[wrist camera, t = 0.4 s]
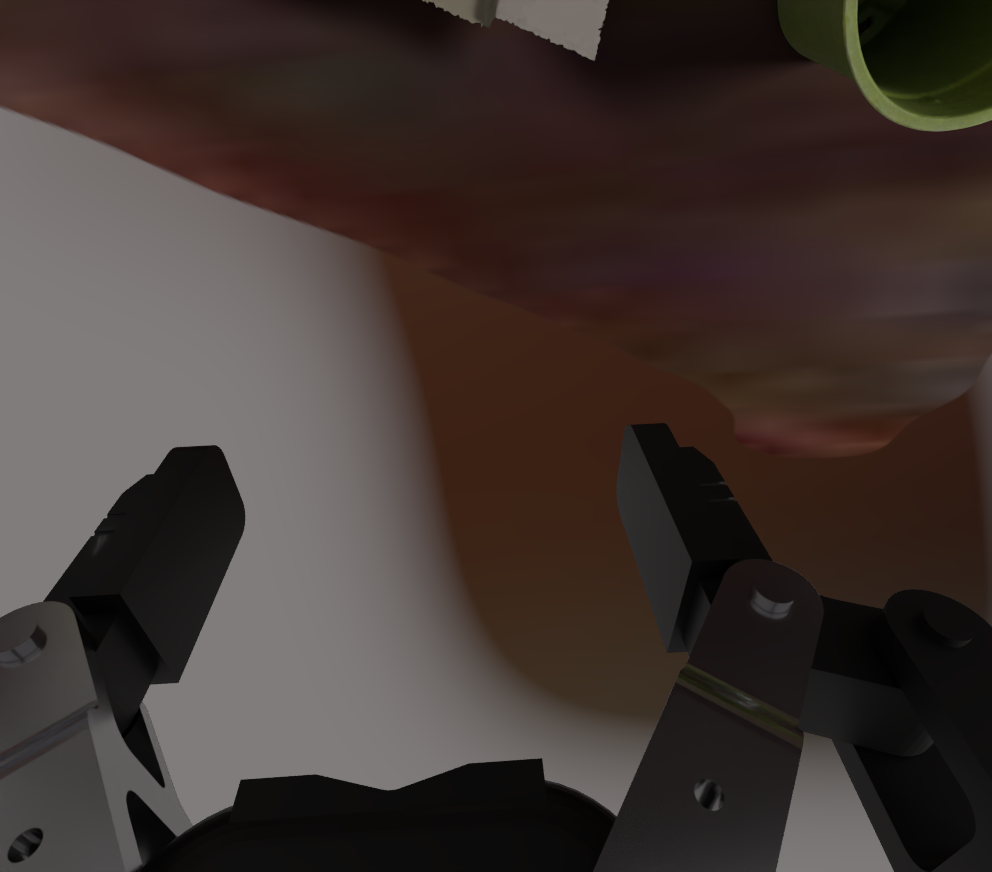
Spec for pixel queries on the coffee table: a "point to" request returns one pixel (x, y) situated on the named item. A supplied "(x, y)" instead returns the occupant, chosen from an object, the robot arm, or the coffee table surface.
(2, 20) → the coffee table surface
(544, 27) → the white slotted block
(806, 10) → the plant pot
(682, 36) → the coffee table surface
